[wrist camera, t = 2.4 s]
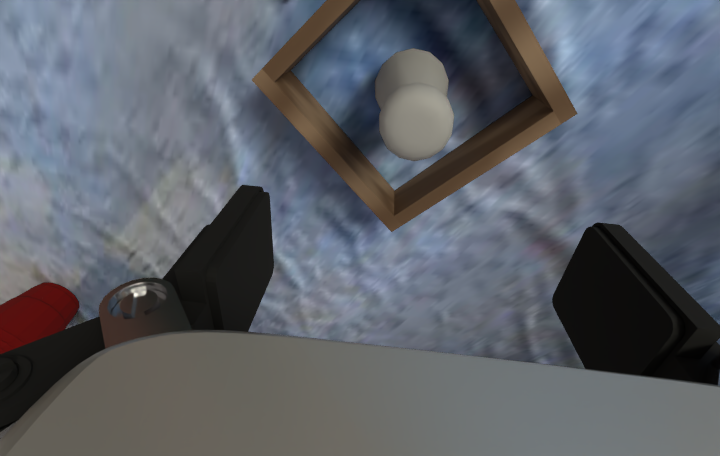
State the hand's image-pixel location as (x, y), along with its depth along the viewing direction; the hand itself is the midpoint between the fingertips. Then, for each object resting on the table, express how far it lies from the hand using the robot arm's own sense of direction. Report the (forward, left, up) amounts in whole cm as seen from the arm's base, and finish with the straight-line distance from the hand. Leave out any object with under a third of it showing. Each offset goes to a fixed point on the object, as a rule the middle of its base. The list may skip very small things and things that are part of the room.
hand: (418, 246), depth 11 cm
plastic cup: (+8, +53, -24) cm, 59 cm away
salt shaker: (0, 0, -24) cm, 24 cm away
